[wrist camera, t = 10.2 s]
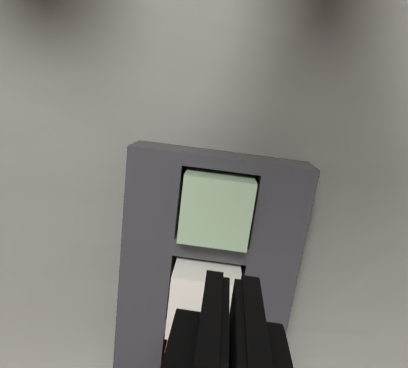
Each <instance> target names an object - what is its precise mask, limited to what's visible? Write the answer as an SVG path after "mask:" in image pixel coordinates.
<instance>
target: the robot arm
mask: <svg viewBox="0 0 408 368" xmlns="http://www.w3.org/2000/svg"><path fill="white" fill-rule="evenodd" d="M223 274H224V272H218V271H211V270H207V272H206V279H205V286H204V293H203V300H202V307H201V312H198V311H191V310H185V309H178V308H177V309H176V312H175V315H174V319H173V323H172V326H171V330H170V334H169V338H168V342H167V345H166V349H165V353H164V357H163V361H162V364H161V368H293V364H292V360H291V355H290V351H289V347H288V342H287V338H286V334H285V329H284V326H283V325H282V324H280V323H273V322H266V316H265V309H264V303H263V297H262V290H261V284H260V278H259V277H253V276H246V275H242V276H241V279H235V280H234V286H233V293H232V299H231V306H230V313H229V303H230V278H228V277H223Z"/></svg>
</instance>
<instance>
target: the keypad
mask: <svg viewBox="0 0 408 368" xmlns="http://www.w3.org/2000/svg"><path fill="white" fill-rule="evenodd" d="M186 166H190V167H197V168H205V169H213V170H220V171H228V172H236V173H243V174H251V175H255V179H256V182H257V184H258V186H257V192H256V198H255V204H254V210H253V217H252V223H251V229H250V235H249V241H248V247H247V253H244V252H237V251H229V250H222V249H215V248H207V247H200V246H192V245H185V244H178V243H176V242H177V233H178V224H179V215H180V206H181V196H182V187H183V178H184V174H185V170H186ZM319 173H320V170H319V169H317V168H316V167H314V166H313V165H312V164H310V163H309V162H304V161H296V160H288V159H280V158H273V157H265V156H257V155H249V154H242V153H234V152H226V151H218V150H210V149H203V148H195V147H187V146H179V145H171V144H164V143H156V142H148V141H140V140H139V141H137V142H135V143H133V144H130V145H128V147H127V163H126V178H125V193H124V209H123V224H122V239H121V255H120V270H119V285H118V301H117V316H116V331H115V347H114V362H113V368H161V364H162V361H163V357H164V352H165V347H166V343H167V340H166V339H165V330H166V320H167V311H168V302H169V292H170V283H171V276H172V273H173V269H174V266H175V261H176V256H179V257H186V258H193V259H201V260H208V261H215V262H223V263H230V264H237V265H241V272H242V275H246V276H253V277H259V278H260V284H261V290H262V297H263V303H264V309H265V316H266V322H273V323H280V324H282V325H283V326H284V329H285V334H286V330H287V326H288V321H289V316H290V311H291V306H292V302H293V297H294V292H295V287H296V283H297V278H298V273H299V268H300V264H301V259H302V254H303V249H304V245H305V240H306V235H307V230H308V226H309V221H310V216H311V211H312V206H313V202H314V197H315V192H316V187H317V183H318V178H319Z"/></svg>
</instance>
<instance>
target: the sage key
mask: <svg viewBox="0 0 408 368" xmlns="http://www.w3.org/2000/svg"><path fill="white" fill-rule="evenodd" d="M257 186H258V184H257V182H256V179H255V177H254V175H251V174H243V173H236V172H228V171H220V170H213V169H205V168H197V167H190V166H188V168H187V170H186V172H185V174H184V178H183V187H182V196H181V206H180V215H179V224H178V233H177V242H176V243H178V244H185V245H192V246H200V247H207V248H215V249H222V250H229V251H237V252H244V253H247V247H248V241H249V235H250V229H251V223H252V217H253V210H254V204H255V198H256V192H257Z"/></svg>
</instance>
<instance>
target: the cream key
mask: <svg viewBox="0 0 408 368" xmlns="http://www.w3.org/2000/svg"><path fill="white" fill-rule="evenodd" d="M207 270H211V271H218V272H224V274H223V277H228V278H230V303H229V313H230V306H231V299H232V293H233V286H234V280H235V279H241V276H242V272H241V265H237V264H230V263H223V262H215V261H208V260H201V259H193V258H186V257H179V256H177V259H176V263H175V266H174V269H173V273H172V276H171V283H170V292H169V302H168V311H167V320H166V330H165V339H166V340H168V338H169V334H170V330H171V326H172V323H173V319H174V315H175V312H176V309H177V308H178V309H185V310H191V311H198V312H201V307H202V300H203V293H204V286H205V279H206V272H207Z"/></svg>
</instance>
